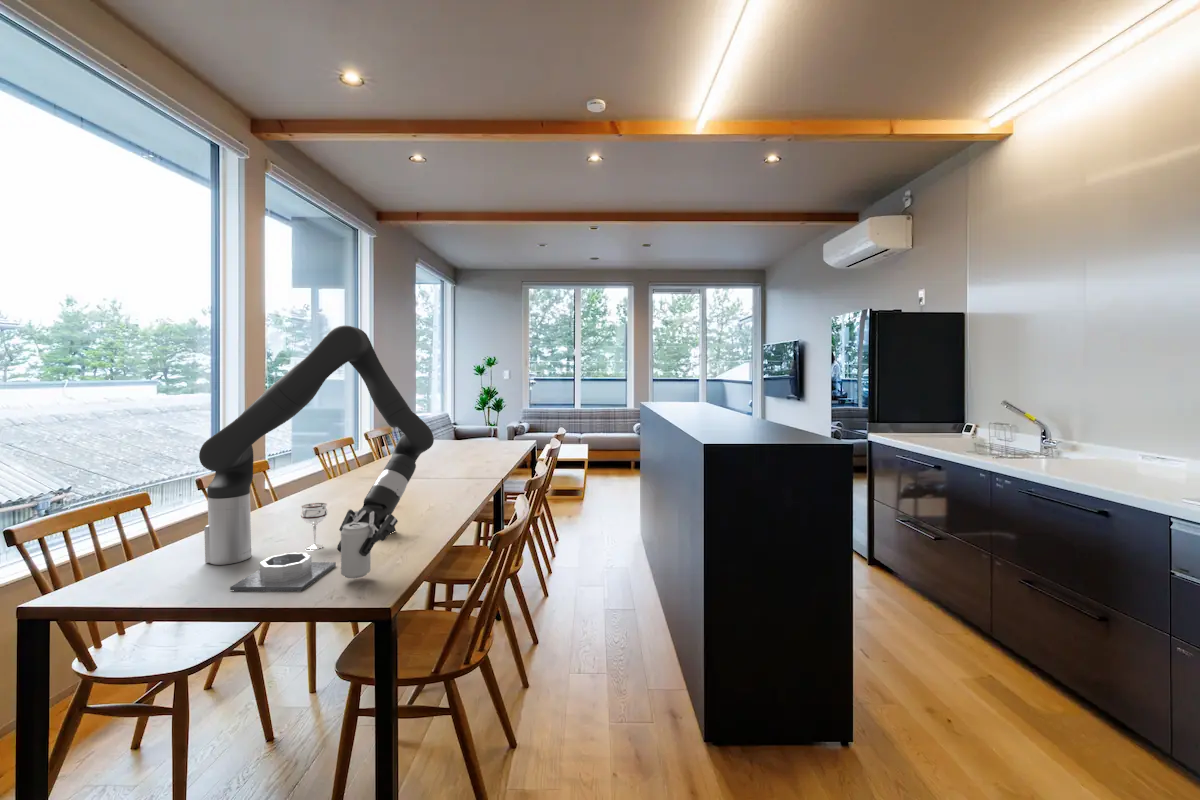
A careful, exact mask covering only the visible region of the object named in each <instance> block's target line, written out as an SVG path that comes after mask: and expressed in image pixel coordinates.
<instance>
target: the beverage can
mask: <svg viewBox="0 0 1200 800" xmlns="http://www.w3.org/2000/svg"><path fill="white" fill-rule="evenodd" d="M353 524H356V525H353ZM359 524H360V525H359ZM368 527H369V524H368V523H365V522H357V523H355V522H354V523H349V524H345V525H344V526H343V529H342V531H340V541H341V552H340V574H341V575H342V576H343V577H345V578H347V579H359V578H363V577H366V575H368V574H369V573H370V572H371V551H370V552H369V553H368V554H367V556H362V555H361V554H360V553H359V550H360V548H361V547H362V545H363V543H364V542H365V540H366V539H367V538H369V537H368V535H369V532H370V530H369V528H368Z"/></svg>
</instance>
